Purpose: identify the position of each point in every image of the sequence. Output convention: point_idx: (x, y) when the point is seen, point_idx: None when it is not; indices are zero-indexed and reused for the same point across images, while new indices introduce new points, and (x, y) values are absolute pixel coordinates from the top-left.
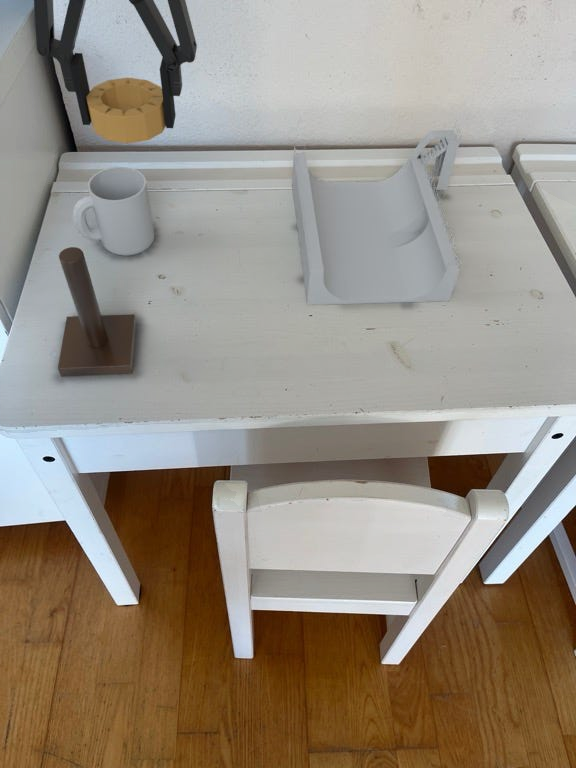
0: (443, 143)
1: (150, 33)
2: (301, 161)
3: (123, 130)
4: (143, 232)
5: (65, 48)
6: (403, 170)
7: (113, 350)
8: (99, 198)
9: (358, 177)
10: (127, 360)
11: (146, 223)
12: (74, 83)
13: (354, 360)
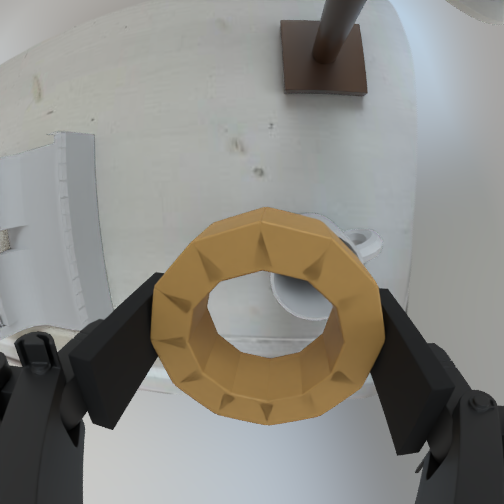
0: None
1: (34, 468)
2: None
3: (270, 214)
4: None
5: (479, 432)
6: (22, 323)
7: (302, 39)
8: (345, 238)
9: (64, 336)
10: (284, 26)
11: None
12: (428, 347)
13: (67, 72)
